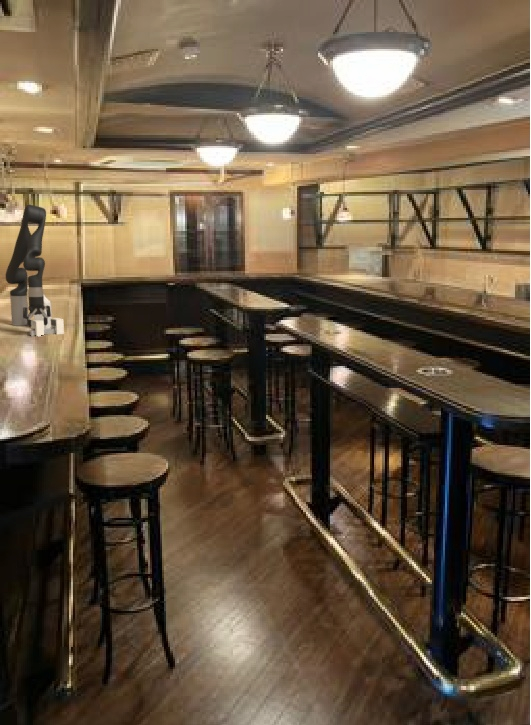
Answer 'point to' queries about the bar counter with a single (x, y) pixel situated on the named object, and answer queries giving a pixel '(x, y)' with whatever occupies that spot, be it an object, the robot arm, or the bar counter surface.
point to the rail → (46, 331)
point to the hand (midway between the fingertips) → (37, 325)
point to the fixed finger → (57, 325)
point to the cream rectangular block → (37, 327)
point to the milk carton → (40, 317)
